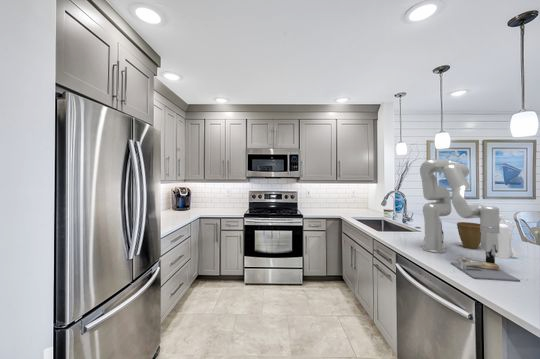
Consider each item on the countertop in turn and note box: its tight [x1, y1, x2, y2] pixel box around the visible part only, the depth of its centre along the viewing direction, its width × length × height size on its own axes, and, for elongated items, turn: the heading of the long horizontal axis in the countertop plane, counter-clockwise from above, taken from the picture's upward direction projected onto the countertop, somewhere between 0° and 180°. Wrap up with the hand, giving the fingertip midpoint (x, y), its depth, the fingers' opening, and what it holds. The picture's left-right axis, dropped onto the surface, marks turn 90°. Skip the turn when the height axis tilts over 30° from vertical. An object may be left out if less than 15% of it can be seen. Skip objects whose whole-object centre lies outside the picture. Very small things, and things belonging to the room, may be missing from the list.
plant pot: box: [456, 221, 481, 250], centre depth 159 cm, size 15×15×16 cm
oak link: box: [459, 257, 500, 270], centre depth 124 cm, size 15×4×3 cm, turn 61°
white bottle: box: [495, 214, 519, 259], centre depth 140 cm, size 7×12×25 cm, turn 58°
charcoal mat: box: [450, 261, 521, 283], centre depth 120 cm, size 20×18×1 cm
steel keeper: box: [459, 260, 483, 270], centre depth 121 cm, size 2×9×4 cm, turn 78°
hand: (490, 264), depth 124 cm, fingers closed
